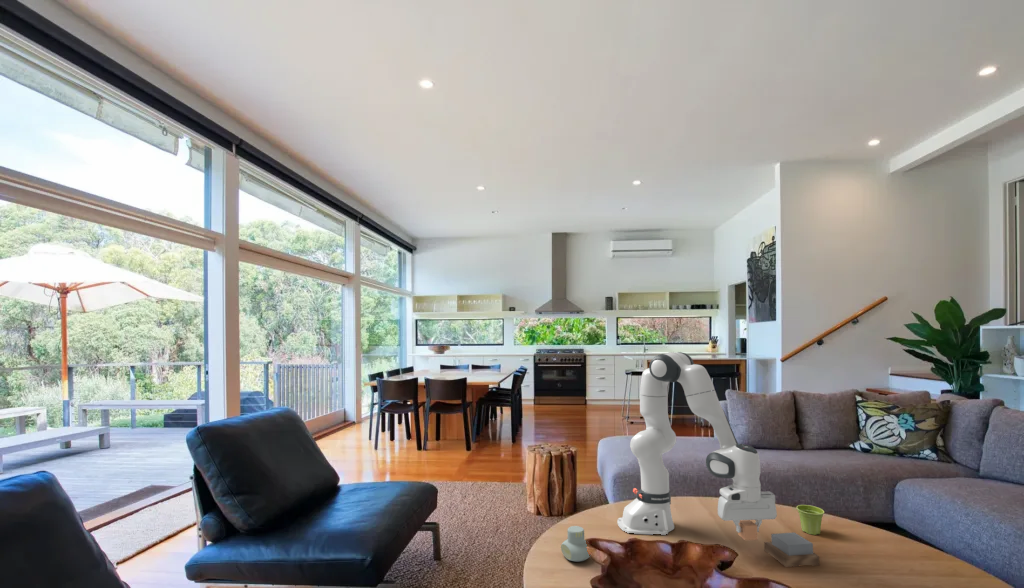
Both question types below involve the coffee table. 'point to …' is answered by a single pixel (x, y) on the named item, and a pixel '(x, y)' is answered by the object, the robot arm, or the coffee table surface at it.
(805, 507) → the plant pot
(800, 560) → the lower tower block
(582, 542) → the air freshener
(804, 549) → the upper tower block
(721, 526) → the coffee table surface
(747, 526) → the rust cube
